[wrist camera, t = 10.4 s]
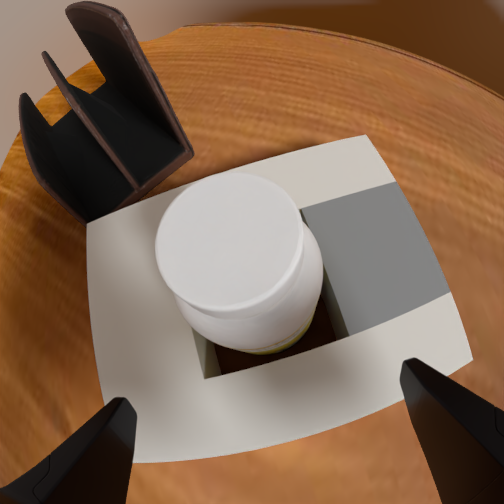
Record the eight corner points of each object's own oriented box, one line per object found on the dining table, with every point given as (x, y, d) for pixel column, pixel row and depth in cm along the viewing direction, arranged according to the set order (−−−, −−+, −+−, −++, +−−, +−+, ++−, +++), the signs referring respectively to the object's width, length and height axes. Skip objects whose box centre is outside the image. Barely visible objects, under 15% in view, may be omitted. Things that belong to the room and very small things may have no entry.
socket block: (442, 363, 13) (473, 359, 10) (150, 449, 14) (120, 462, 11) (357, 168, 19) (365, 134, 16) (114, 245, 19) (86, 223, 16)
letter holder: (115, 85, 29) (68, -1, 16) (198, 157, 22) (127, -8, 9) (52, 135, 27) (-8, 59, 14) (98, 240, 20) (-36, 120, 7)
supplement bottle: (224, 260, 18) (159, 154, 9) (314, 265, 17) (332, 151, 8) (212, 350, 16) (113, 323, 7) (309, 359, 15) (333, 349, 6)
